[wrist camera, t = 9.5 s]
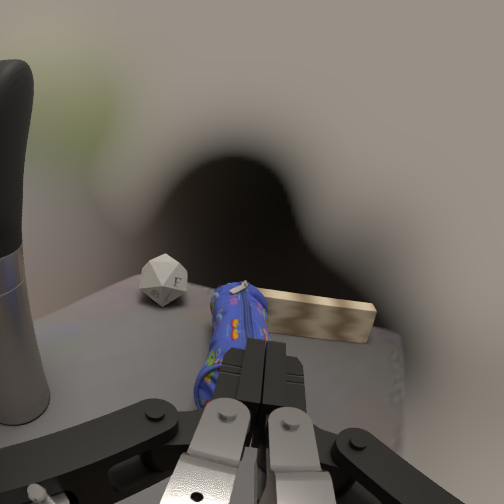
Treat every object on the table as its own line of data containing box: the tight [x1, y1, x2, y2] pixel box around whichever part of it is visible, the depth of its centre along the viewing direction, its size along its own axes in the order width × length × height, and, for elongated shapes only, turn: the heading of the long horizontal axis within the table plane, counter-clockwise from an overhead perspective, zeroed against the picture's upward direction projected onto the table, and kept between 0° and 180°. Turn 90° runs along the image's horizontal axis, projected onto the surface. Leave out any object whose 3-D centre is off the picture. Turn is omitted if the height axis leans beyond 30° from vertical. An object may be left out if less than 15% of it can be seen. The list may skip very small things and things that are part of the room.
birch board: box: [228, 283, 377, 343], centre depth 50 cm, size 24×3×6 cm, turn 85°
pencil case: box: [194, 281, 271, 410], centre depth 38 cm, size 22×9×10 cm, turn 1°
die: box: [139, 254, 187, 307], centre depth 54 cm, size 8×9×10 cm
